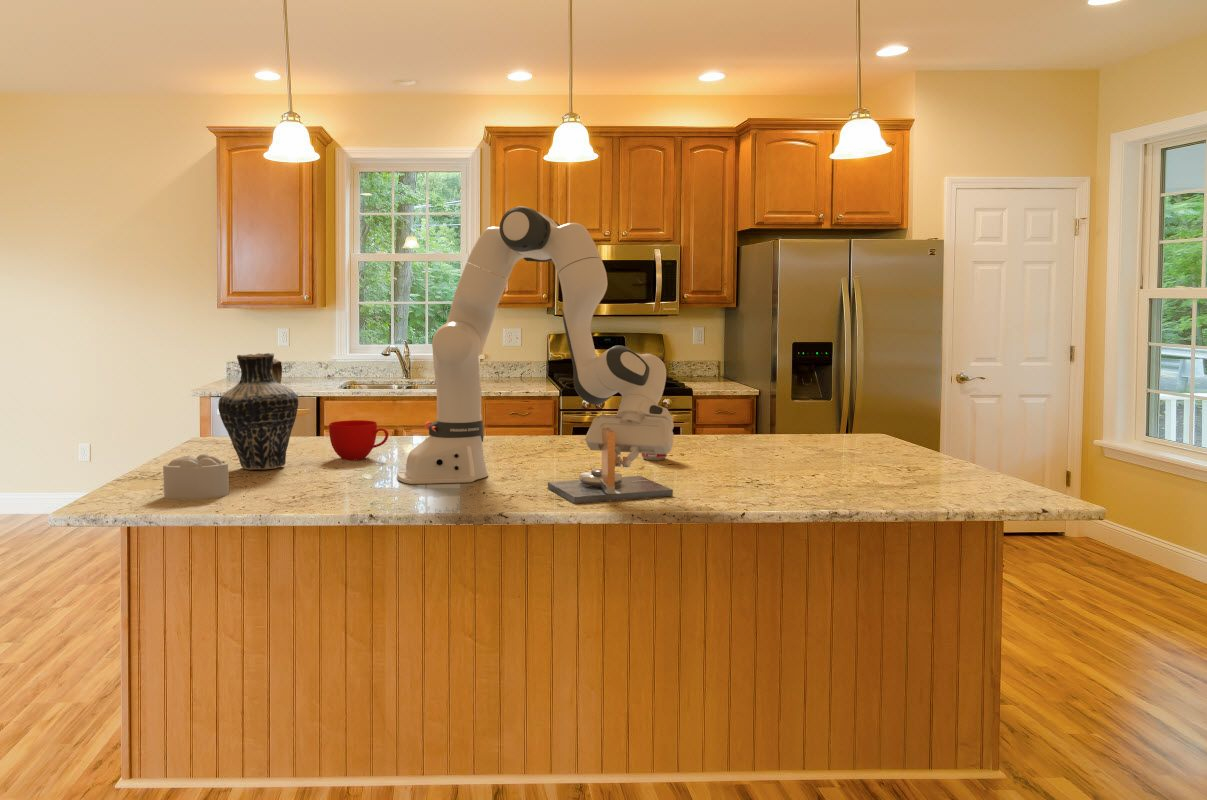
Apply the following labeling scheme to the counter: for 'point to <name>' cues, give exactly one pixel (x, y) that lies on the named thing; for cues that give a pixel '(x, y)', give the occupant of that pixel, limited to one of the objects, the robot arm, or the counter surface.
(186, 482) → the lumpy-topped squat cylinder
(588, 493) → the base plate
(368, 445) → the ceramic cup
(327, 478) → the counter surface
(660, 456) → the soda can
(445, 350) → the robot arm
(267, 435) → the jug
